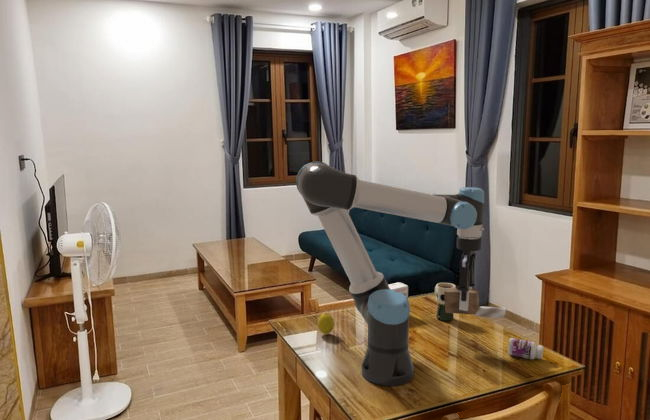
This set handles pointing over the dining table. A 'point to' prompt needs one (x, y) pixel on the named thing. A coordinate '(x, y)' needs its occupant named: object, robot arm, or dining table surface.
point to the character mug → (443, 300)
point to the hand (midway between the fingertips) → (465, 307)
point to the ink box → (399, 288)
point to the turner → (470, 304)
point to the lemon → (325, 323)
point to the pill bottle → (524, 349)
